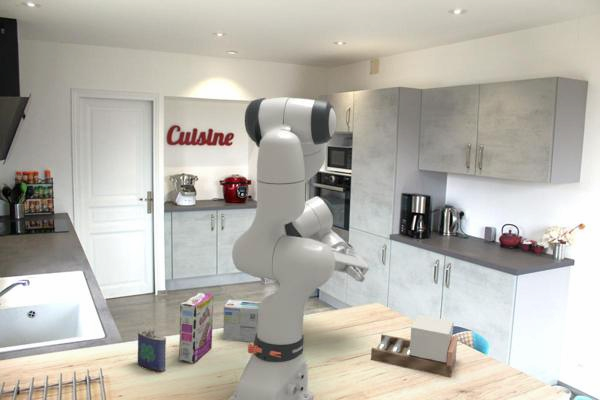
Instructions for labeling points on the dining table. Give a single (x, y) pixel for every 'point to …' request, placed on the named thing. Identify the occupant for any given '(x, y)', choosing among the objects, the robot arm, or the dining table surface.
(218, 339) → the dining table surface
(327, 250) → the robot arm
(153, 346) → the flask
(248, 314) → the light bulb box
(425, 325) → the off-white cardboard box
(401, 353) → the roller track
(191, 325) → the candy bar box
